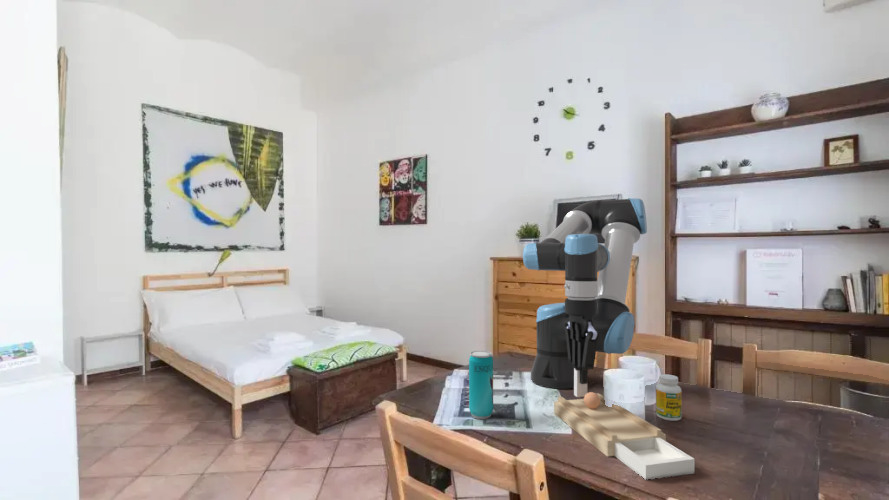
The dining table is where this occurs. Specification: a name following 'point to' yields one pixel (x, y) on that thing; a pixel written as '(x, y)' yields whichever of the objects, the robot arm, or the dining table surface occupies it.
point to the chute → (605, 424)
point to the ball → (592, 400)
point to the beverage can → (481, 384)
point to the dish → (654, 459)
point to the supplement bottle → (668, 398)
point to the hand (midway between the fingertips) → (580, 395)
